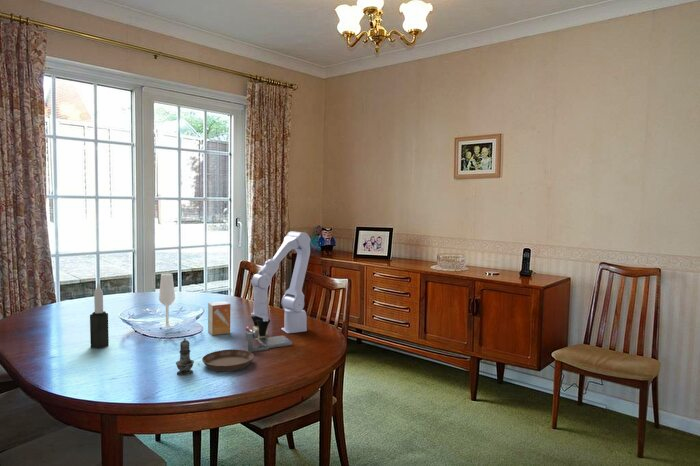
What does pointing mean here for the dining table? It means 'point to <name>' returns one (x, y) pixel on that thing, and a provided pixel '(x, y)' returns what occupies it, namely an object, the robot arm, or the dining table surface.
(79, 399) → the dining table surface
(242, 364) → the plant saucer
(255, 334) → the lever
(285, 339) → the grey panel board
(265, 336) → the block
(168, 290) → the champagne flute
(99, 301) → the black and grey bottle
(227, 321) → the small box
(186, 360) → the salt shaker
